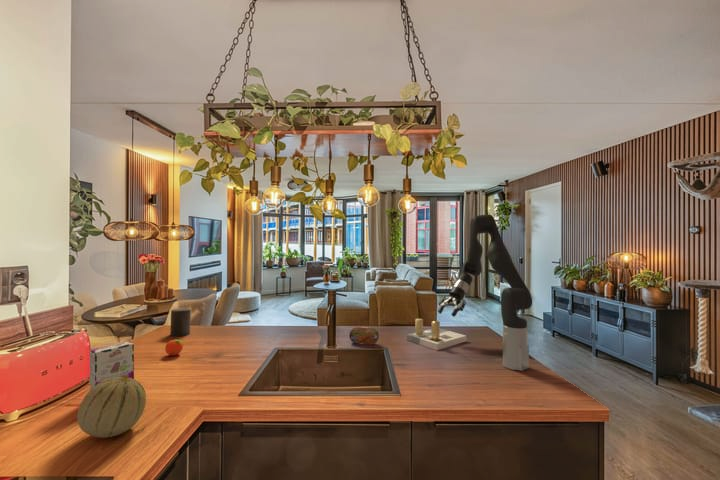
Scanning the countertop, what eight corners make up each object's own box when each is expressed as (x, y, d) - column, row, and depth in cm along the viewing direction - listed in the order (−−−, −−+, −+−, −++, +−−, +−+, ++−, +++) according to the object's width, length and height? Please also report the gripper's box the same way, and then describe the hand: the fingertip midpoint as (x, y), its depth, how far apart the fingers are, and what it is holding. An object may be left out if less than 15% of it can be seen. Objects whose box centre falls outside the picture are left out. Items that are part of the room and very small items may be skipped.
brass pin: (441, 345, 165) (441, 322, 165) (436, 347, 163) (436, 323, 163) (434, 343, 168) (435, 320, 168) (429, 345, 166) (429, 321, 166)
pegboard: (466, 341, 173) (466, 320, 173) (436, 350, 158) (437, 327, 158) (436, 332, 189) (436, 313, 189) (406, 340, 174) (407, 319, 174)
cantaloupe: (63, 442, 84) (64, 384, 84) (123, 414, 98) (123, 364, 98) (101, 456, 79) (102, 394, 79) (158, 424, 92) (159, 371, 92)
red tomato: (188, 352, 151) (188, 337, 151) (178, 358, 144) (178, 342, 144) (171, 352, 152) (172, 336, 152) (161, 357, 145) (161, 341, 145)
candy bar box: (127, 387, 115) (128, 340, 116) (134, 390, 113) (135, 343, 113) (88, 400, 106) (89, 349, 106) (94, 404, 103) (95, 352, 103)
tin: (349, 343, 167) (349, 327, 167) (350, 341, 171) (350, 325, 171) (378, 345, 165) (378, 328, 165) (379, 343, 168) (379, 327, 168)
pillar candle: (176, 337, 175) (177, 309, 175) (166, 334, 180) (167, 307, 180) (194, 333, 183) (194, 306, 183) (183, 330, 188) (184, 304, 188)
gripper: (445, 284, 182) (431, 307, 174) (467, 287, 170) (454, 312, 163) (451, 293, 185) (438, 316, 178) (473, 296, 174) (460, 321, 166)
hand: (445, 314), depth 170 cm, fingers open, 8 cm apart
